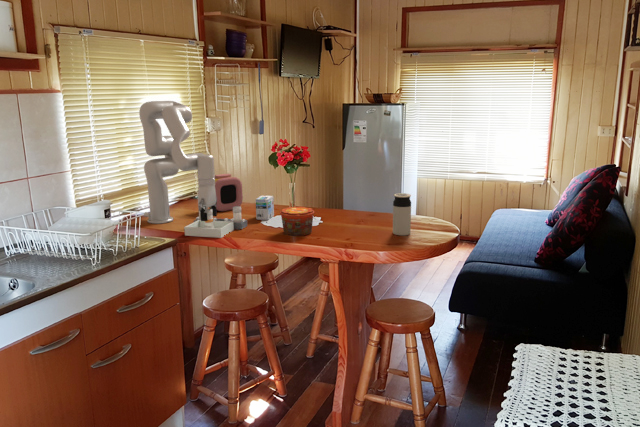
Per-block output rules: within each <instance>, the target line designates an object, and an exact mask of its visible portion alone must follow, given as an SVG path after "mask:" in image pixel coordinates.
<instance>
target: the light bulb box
mask: <svg viewBox="0 0 640 427" xmlns="http://www.w3.org/2000/svg"><path fill="white" fill-rule="evenodd" d="M274 202H275V201H274V196H273V195H259V196H258V197H257V198H255V214H256V215H255V217H256V220H259V221H260V220H261V221H262V220H264V221H269V220H270V219H272V218H273V217H274V216H275V209H274V208H275V206H274V204H275V203H274Z"/></svg>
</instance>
